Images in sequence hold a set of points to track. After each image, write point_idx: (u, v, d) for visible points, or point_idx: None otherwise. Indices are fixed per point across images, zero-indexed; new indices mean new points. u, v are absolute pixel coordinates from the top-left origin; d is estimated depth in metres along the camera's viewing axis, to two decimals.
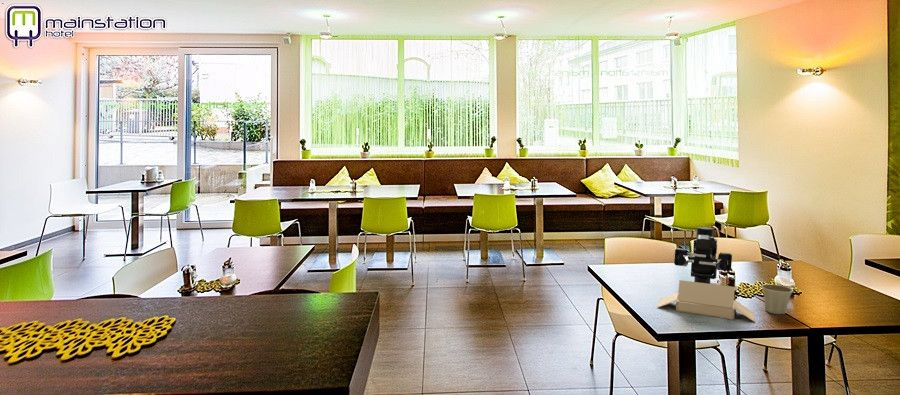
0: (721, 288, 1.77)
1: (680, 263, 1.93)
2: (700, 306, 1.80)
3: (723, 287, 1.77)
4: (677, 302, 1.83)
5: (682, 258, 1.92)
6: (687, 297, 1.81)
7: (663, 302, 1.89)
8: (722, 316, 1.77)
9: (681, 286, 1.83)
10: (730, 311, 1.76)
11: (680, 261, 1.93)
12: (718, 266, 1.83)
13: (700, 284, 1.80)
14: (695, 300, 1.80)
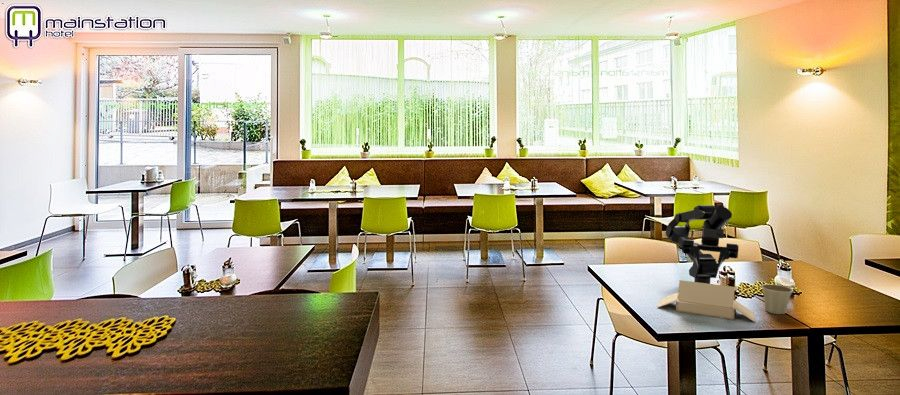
0: (721, 288, 1.77)
1: (692, 254, 1.98)
2: (700, 306, 1.80)
3: (723, 287, 1.77)
4: (677, 302, 1.83)
5: (694, 251, 1.97)
6: (687, 297, 1.81)
7: (663, 302, 1.89)
8: (722, 316, 1.77)
9: (681, 286, 1.83)
10: (730, 311, 1.76)
11: (692, 253, 1.98)
12: (719, 265, 1.91)
13: (700, 284, 1.80)
14: (695, 300, 1.80)
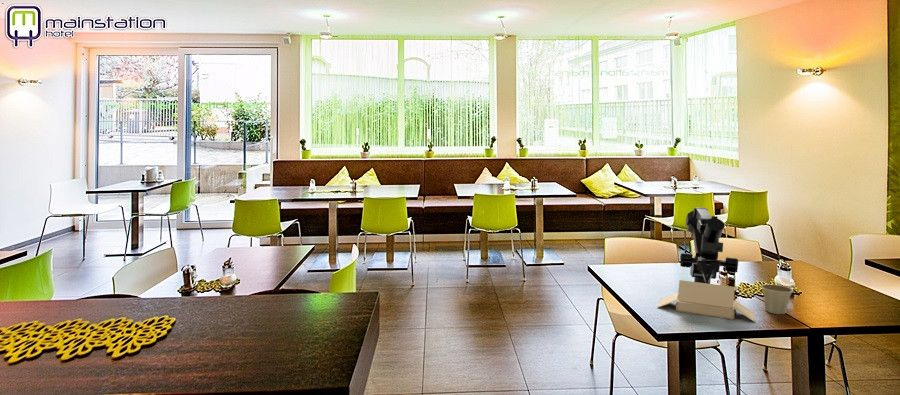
0: (721, 288, 1.77)
1: (699, 269, 1.92)
2: (700, 306, 1.80)
3: (723, 287, 1.77)
4: (677, 302, 1.83)
5: (701, 266, 1.90)
6: (687, 297, 1.81)
7: (663, 302, 1.89)
8: (722, 316, 1.77)
9: (681, 286, 1.83)
10: (730, 311, 1.76)
11: (699, 268, 1.91)
12: (709, 279, 1.87)
13: (700, 284, 1.80)
14: (695, 300, 1.80)
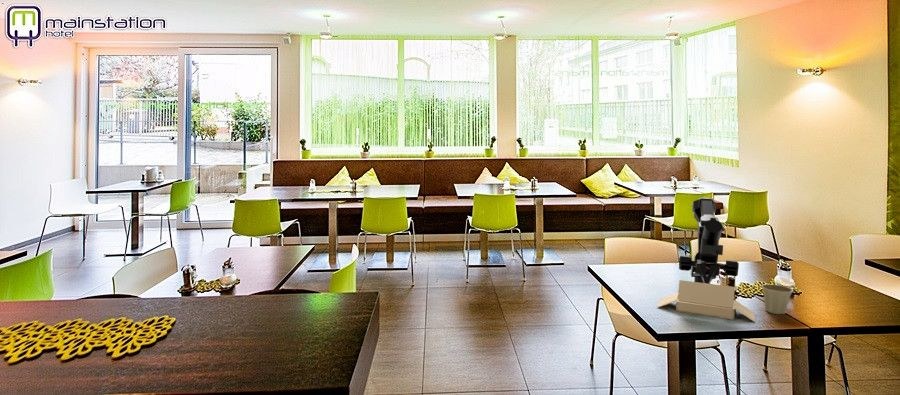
0: (721, 288, 1.77)
1: (698, 272, 1.86)
2: (700, 306, 1.80)
3: (723, 287, 1.77)
4: (677, 302, 1.83)
5: (700, 269, 1.85)
6: (687, 297, 1.81)
7: (663, 302, 1.89)
8: (722, 316, 1.77)
9: (681, 286, 1.83)
10: (730, 311, 1.76)
11: (698, 271, 1.86)
12: (709, 283, 1.81)
13: (700, 284, 1.80)
14: (695, 300, 1.80)
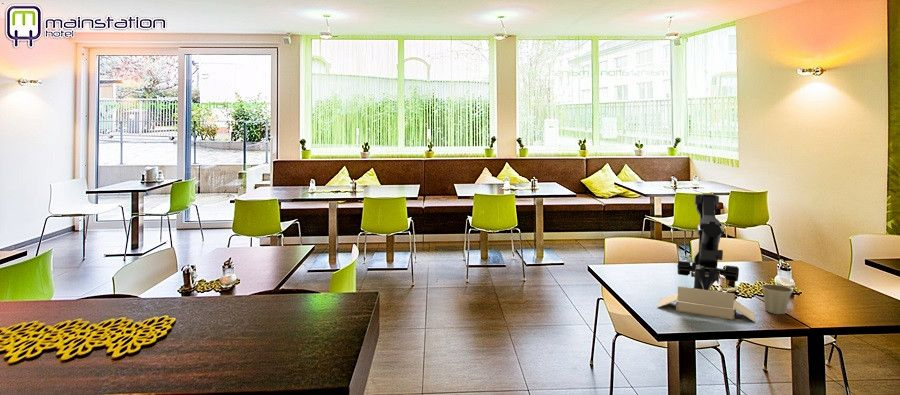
0: (721, 295, 1.73)
1: (698, 277, 1.81)
2: (700, 306, 1.80)
3: (723, 294, 1.72)
4: (677, 302, 1.83)
5: (699, 274, 1.80)
6: (686, 299, 1.80)
7: (663, 302, 1.89)
8: (722, 316, 1.77)
9: (680, 291, 1.79)
10: (730, 311, 1.76)
11: (697, 276, 1.81)
12: (708, 289, 1.76)
13: (699, 291, 1.76)
14: (695, 302, 1.79)
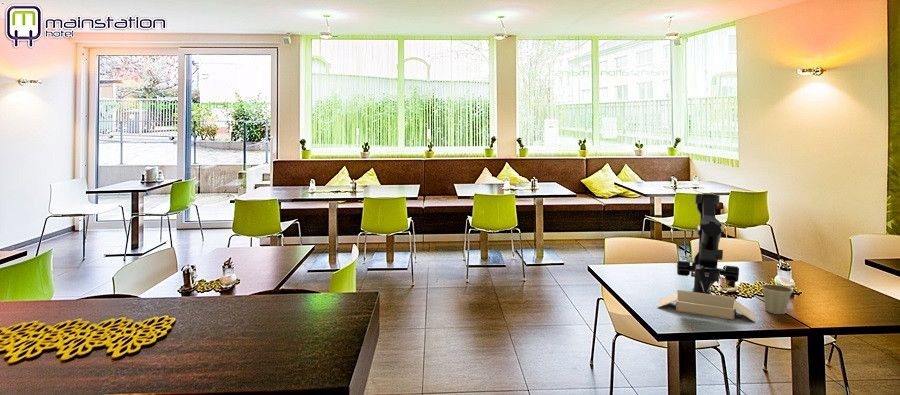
0: (720, 298, 1.72)
1: (697, 278, 1.80)
2: (700, 306, 1.80)
3: (722, 298, 1.72)
4: (677, 302, 1.83)
5: (699, 275, 1.78)
6: (686, 300, 1.80)
7: (663, 302, 1.89)
8: (722, 316, 1.77)
9: (680, 294, 1.78)
10: (730, 311, 1.76)
11: (697, 276, 1.79)
12: (708, 289, 1.74)
13: (699, 294, 1.75)
14: (695, 302, 1.79)
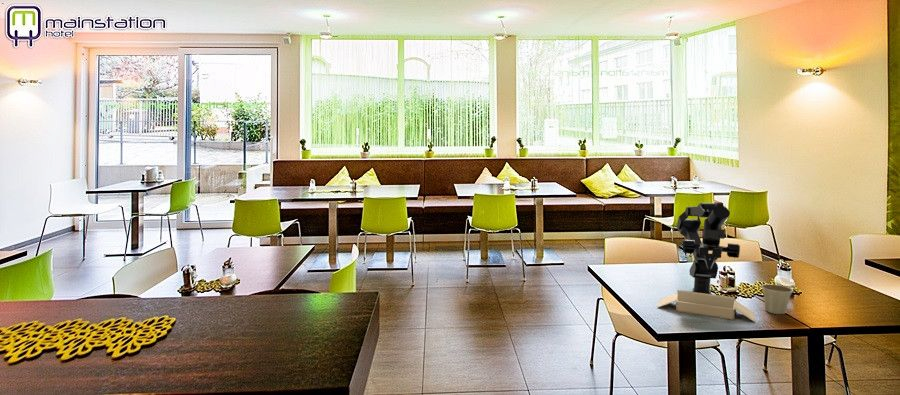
0: (720, 298, 1.72)
1: (701, 255, 1.95)
2: (700, 306, 1.80)
3: (722, 298, 1.71)
4: (677, 302, 1.83)
5: (703, 252, 1.94)
6: (686, 300, 1.80)
7: (663, 302, 1.89)
8: (722, 316, 1.77)
9: (680, 294, 1.78)
10: (730, 311, 1.76)
11: (701, 254, 1.95)
12: (712, 265, 1.90)
13: (699, 295, 1.75)
14: (695, 302, 1.79)
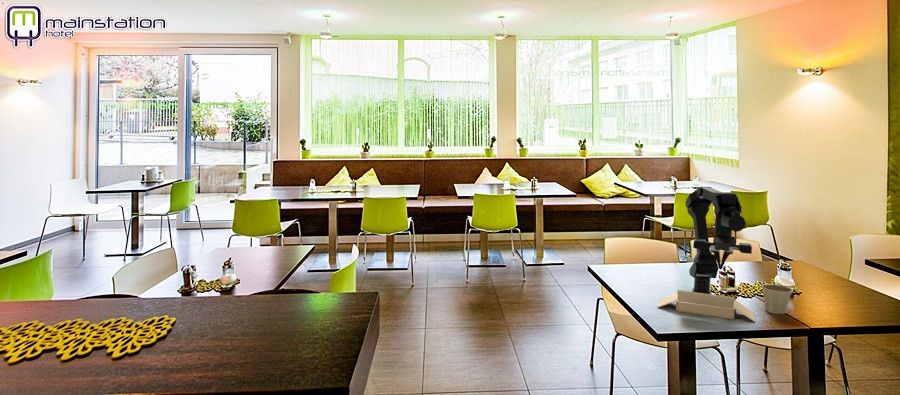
0: (720, 298, 1.72)
1: None
2: (700, 306, 1.80)
3: (722, 298, 1.71)
4: (677, 302, 1.83)
5: None
6: (686, 300, 1.80)
7: (663, 302, 1.89)
8: (722, 316, 1.77)
9: (680, 294, 1.78)
10: (730, 311, 1.76)
11: None
12: (723, 264, 1.91)
13: (699, 295, 1.75)
14: (695, 302, 1.79)
